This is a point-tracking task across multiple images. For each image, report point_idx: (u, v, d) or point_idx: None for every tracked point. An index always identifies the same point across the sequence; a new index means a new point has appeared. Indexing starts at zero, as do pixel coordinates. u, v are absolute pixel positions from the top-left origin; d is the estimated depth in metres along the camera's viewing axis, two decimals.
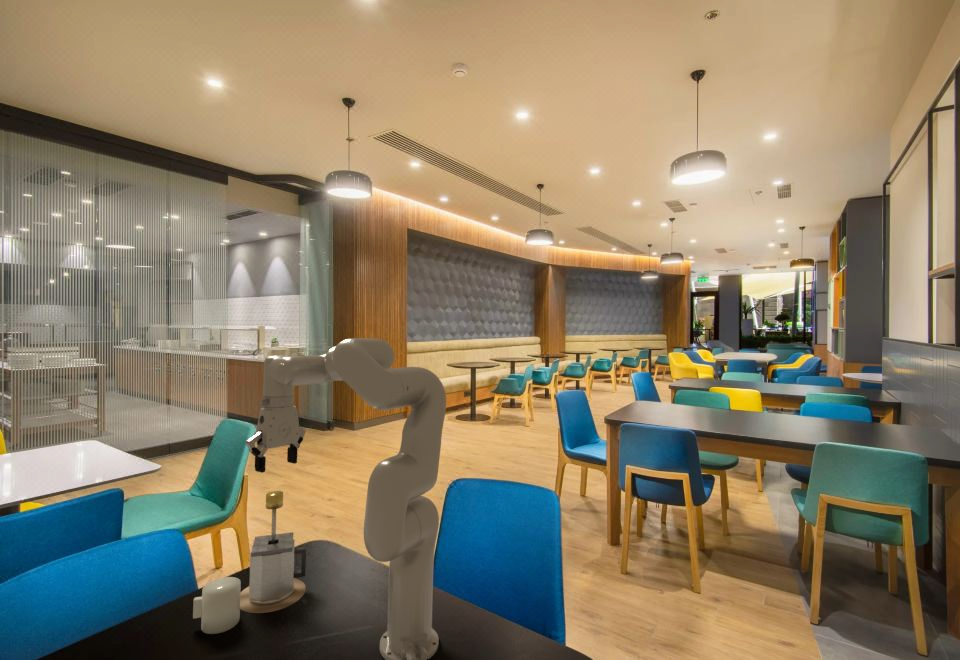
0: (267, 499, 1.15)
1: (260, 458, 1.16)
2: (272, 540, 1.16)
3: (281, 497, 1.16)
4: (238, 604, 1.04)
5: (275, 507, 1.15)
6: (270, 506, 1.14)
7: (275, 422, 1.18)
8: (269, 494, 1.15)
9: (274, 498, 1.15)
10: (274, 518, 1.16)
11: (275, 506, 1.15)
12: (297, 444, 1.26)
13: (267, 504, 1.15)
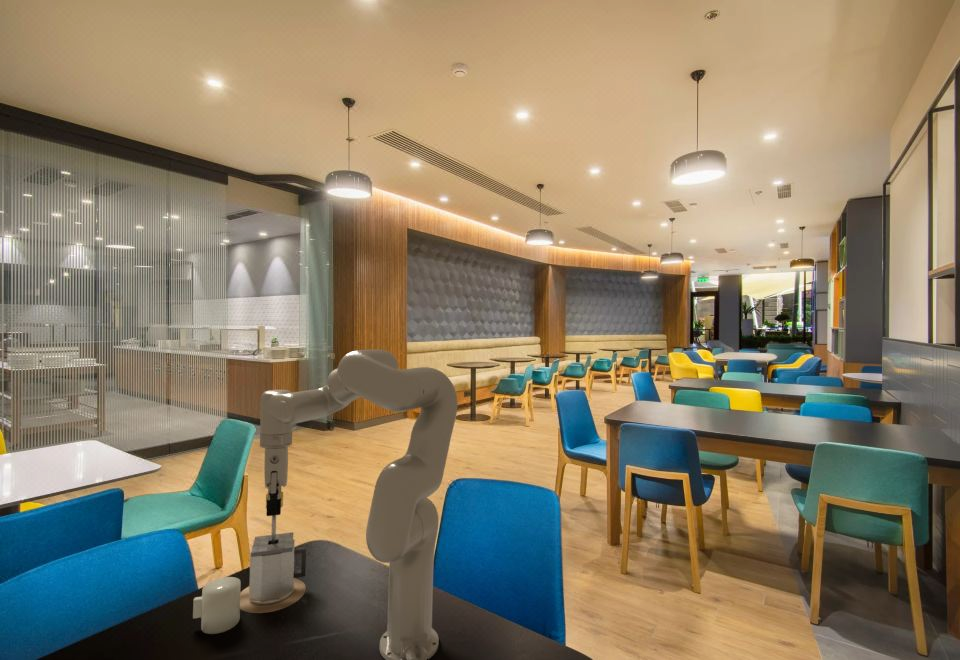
0: None
1: (277, 501, 1.14)
2: (272, 540, 1.16)
3: (281, 497, 1.16)
4: (238, 604, 1.04)
5: None
6: None
7: (286, 459, 1.15)
8: None
9: None
10: (274, 518, 1.16)
11: None
12: None
13: None
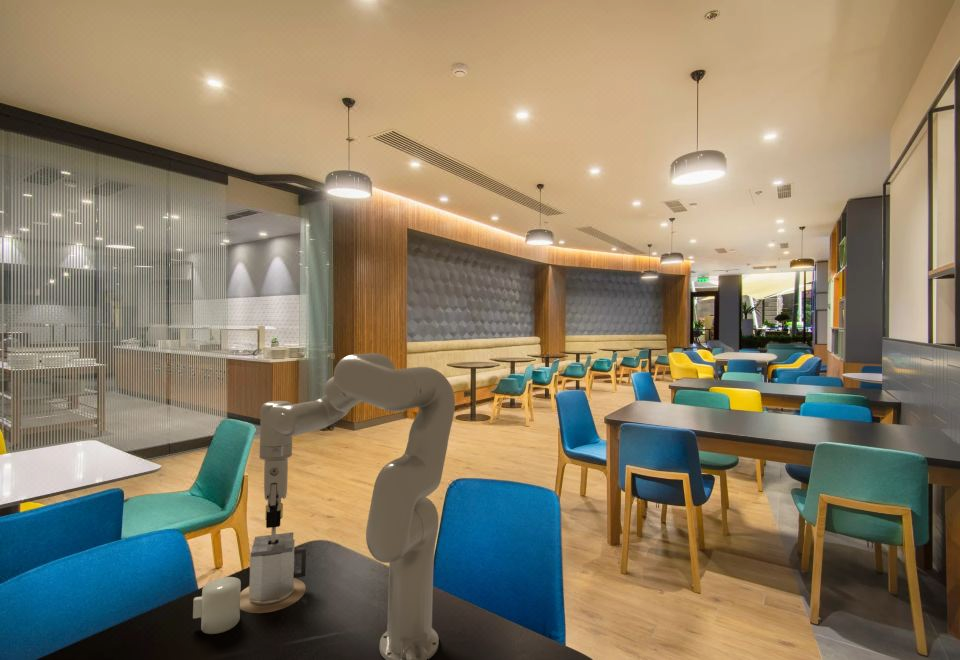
0: None
1: (276, 512, 1.14)
2: None
3: (281, 509, 1.16)
4: (238, 604, 1.04)
5: None
6: None
7: (286, 471, 1.15)
8: None
9: None
10: (274, 530, 1.16)
11: None
12: (280, 498, 1.20)
13: None
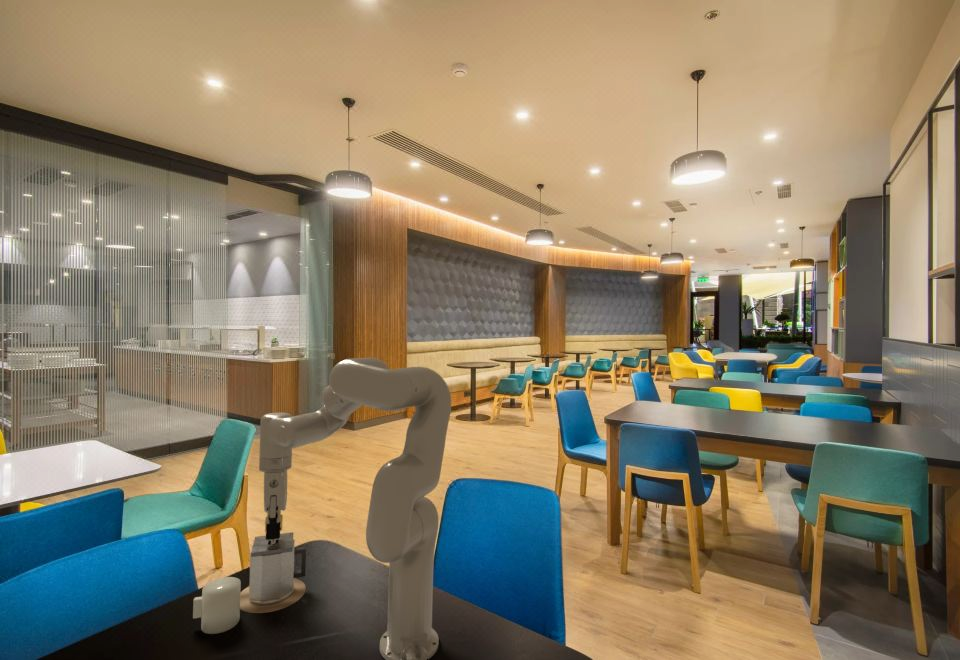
0: None
1: (276, 524, 1.14)
2: None
3: (280, 520, 1.16)
4: (238, 604, 1.04)
5: None
6: None
7: (286, 483, 1.15)
8: None
9: None
10: (273, 541, 1.16)
11: None
12: (280, 509, 1.20)
13: None
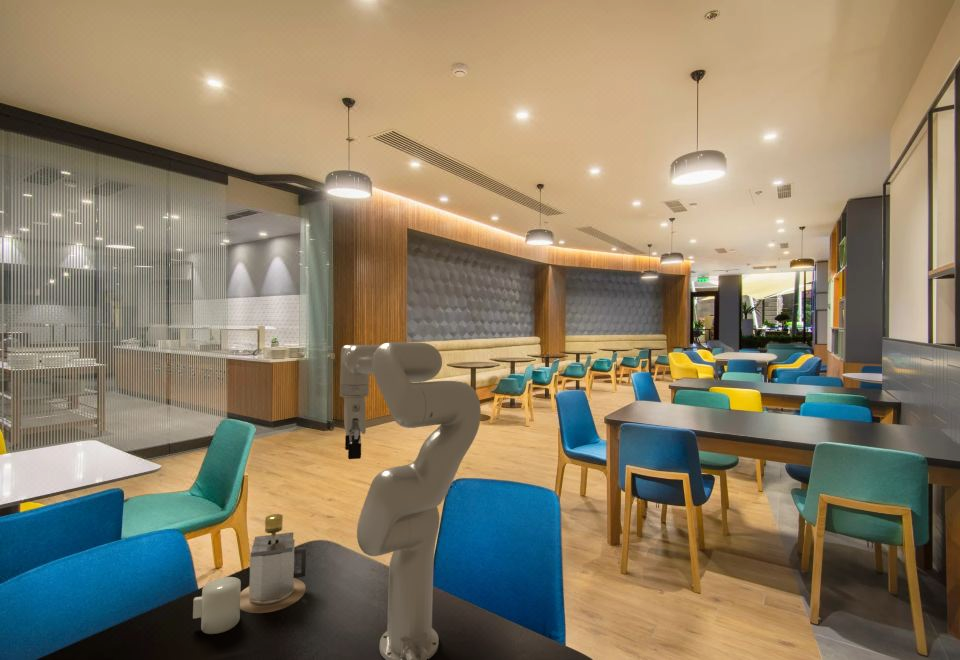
0: (266, 523, 1.15)
1: (358, 445, 1.19)
2: None
3: (280, 521, 1.16)
4: (238, 604, 1.04)
5: (274, 531, 1.15)
6: (269, 530, 1.14)
7: None
8: (268, 518, 1.15)
9: (273, 522, 1.14)
10: (273, 542, 1.16)
11: (274, 530, 1.15)
12: None
13: (266, 528, 1.15)
